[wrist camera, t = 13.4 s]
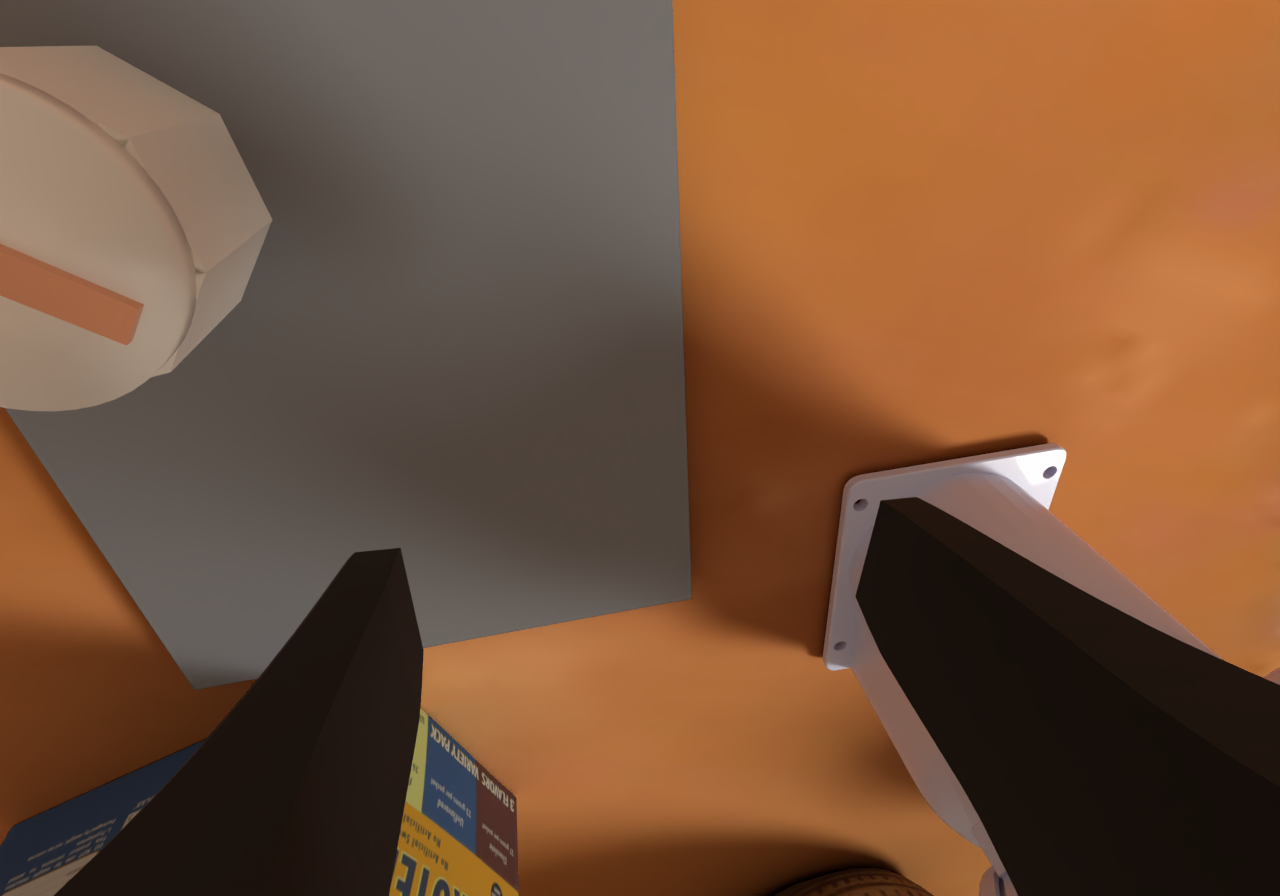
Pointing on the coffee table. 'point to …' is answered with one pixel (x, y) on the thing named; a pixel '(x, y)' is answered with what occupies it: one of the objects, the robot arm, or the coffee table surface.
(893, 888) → the ceramic vessel
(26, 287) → the cap
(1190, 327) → the coffee table surface
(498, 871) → the protein box
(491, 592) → the base
